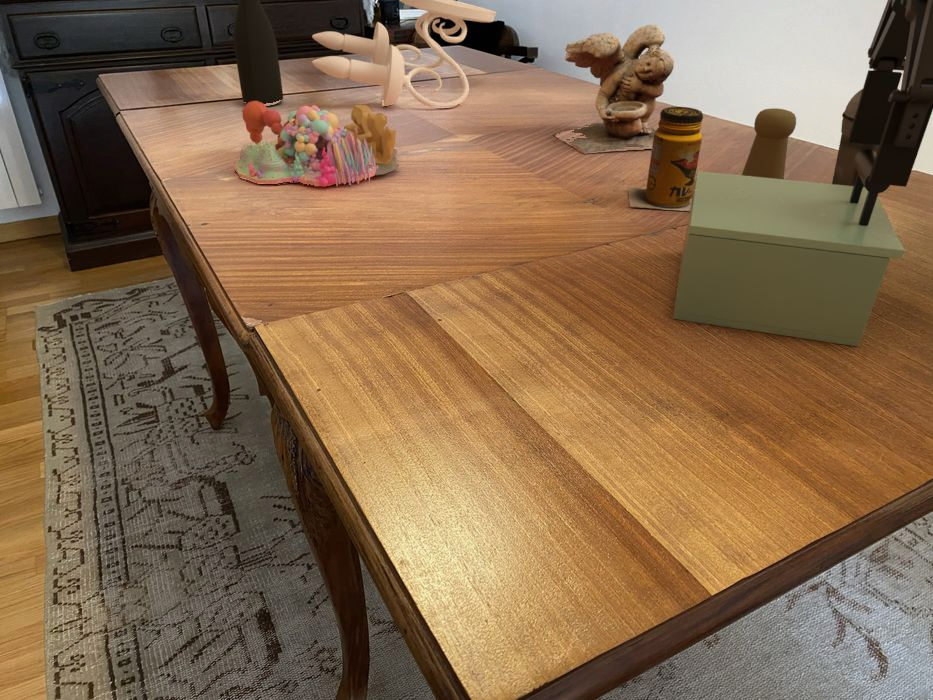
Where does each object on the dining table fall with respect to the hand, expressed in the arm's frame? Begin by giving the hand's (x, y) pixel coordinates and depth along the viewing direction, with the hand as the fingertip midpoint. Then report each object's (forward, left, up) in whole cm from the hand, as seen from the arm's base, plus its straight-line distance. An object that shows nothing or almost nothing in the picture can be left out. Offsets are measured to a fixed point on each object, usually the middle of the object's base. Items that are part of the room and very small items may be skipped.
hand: (874, 161), depth 63 cm
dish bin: (+7, 0, -14) cm, 16 cm away
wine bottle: (+100, -57, -15) cm, 116 cm away
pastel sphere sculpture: (+70, -24, -15) cm, 75 cm away
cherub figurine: (+30, -54, -15) cm, 63 cm away
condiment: (+19, -25, -15) cm, 34 cm away
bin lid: (+6, 0, -6) cm, 8 cm away
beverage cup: (-5, -31, -15) cm, 35 cm away
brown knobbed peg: (+6, -34, -15) cm, 37 cm away
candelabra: (+78, -80, -15) cm, 112 cm away
